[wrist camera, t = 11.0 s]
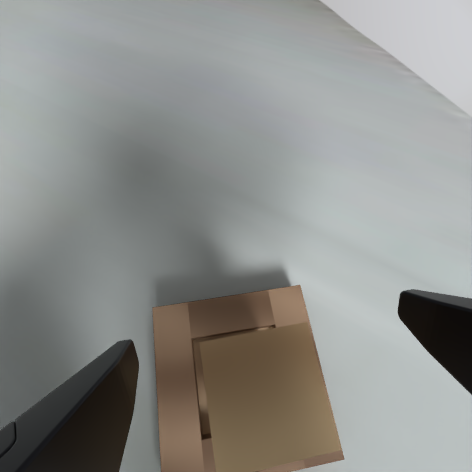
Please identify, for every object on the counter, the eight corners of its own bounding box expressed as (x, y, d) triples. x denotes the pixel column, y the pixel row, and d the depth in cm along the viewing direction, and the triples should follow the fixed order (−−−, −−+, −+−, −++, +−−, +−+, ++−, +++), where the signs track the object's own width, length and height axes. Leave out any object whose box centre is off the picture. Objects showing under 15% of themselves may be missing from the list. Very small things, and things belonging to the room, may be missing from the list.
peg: (275, 402, 20) (341, 449, 9) (218, 415, 20) (217, 480, 9) (262, 342, 22) (307, 321, 11) (209, 352, 21) (199, 342, 10)
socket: (332, 450, 20) (344, 459, 18) (168, 486, 19) (162, 500, 17) (293, 291, 24) (300, 284, 22) (158, 312, 23) (152, 307, 21)
